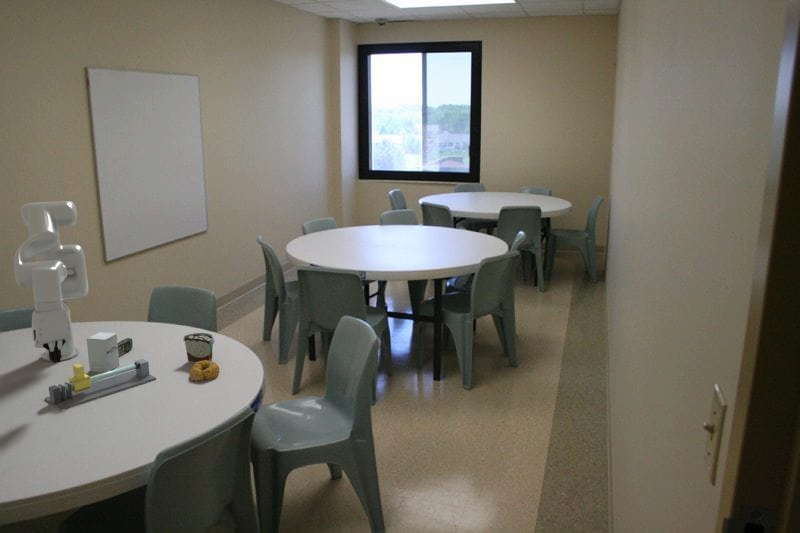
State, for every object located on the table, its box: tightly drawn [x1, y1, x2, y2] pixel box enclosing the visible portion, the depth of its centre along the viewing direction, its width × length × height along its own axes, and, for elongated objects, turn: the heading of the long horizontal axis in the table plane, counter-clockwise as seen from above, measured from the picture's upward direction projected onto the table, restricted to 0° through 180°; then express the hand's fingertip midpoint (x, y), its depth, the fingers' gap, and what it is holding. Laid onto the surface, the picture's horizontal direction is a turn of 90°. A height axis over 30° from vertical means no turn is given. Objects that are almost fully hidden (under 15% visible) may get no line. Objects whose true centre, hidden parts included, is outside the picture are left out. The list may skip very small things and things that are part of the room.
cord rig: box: [44, 358, 157, 411], centre depth 214 cm, size 12×32×6 cm, turn 140°
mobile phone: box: [117, 337, 134, 358], centre depth 245 cm, size 5×3×15 cm
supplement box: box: [86, 331, 120, 373], centre depth 230 cm, size 7×7×13 cm
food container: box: [183, 332, 215, 363], centre depth 239 cm, size 12×6×10 cm, turn 71°
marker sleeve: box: [68, 363, 92, 393], centre depth 207 cm, size 4×5×8 cm
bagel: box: [189, 360, 220, 382], centre depth 225 cm, size 10×11×5 cm
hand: (55, 361), depth 200 cm, fingers closed
